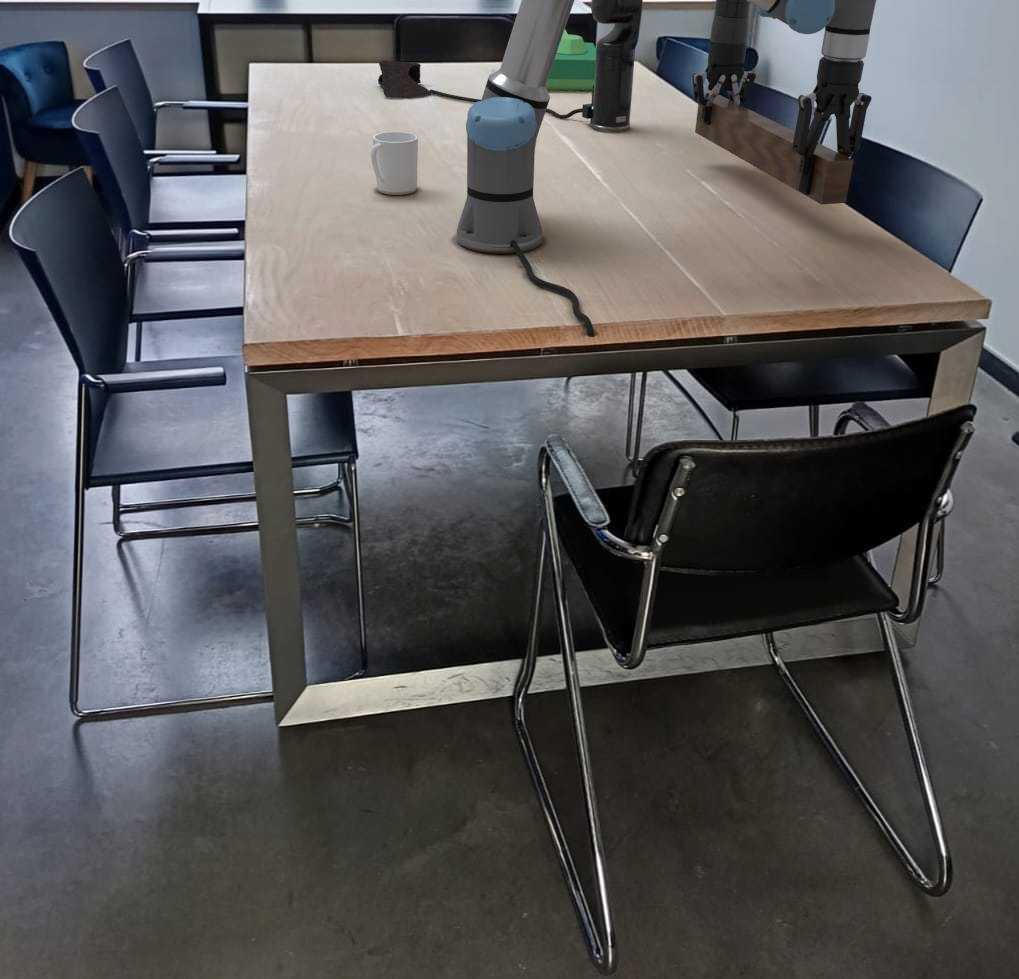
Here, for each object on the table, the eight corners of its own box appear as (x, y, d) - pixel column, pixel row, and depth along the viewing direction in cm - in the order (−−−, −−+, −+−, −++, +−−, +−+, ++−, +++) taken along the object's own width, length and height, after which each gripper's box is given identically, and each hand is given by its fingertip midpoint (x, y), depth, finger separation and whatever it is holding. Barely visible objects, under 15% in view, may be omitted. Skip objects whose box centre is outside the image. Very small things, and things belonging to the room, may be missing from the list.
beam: (845, 203, 197) (853, 160, 193) (821, 204, 196) (829, 161, 192) (715, 131, 241) (720, 95, 237) (694, 132, 239) (699, 95, 235)
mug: (396, 180, 226) (394, 129, 221) (428, 188, 221) (427, 137, 216) (358, 191, 219) (355, 139, 214) (389, 200, 214) (387, 147, 209)
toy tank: (590, 24, 327) (604, 45, 297) (588, 68, 333) (601, 92, 303) (531, 23, 326) (539, 44, 296) (530, 67, 332) (538, 91, 302)
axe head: (443, 87, 294) (392, 77, 287) (436, 115, 299) (385, 106, 292) (421, 62, 307) (371, 52, 300) (414, 89, 311) (365, 80, 304)
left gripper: (875, 52, 194) (850, 183, 206) (785, 54, 189) (764, 188, 202) (900, 61, 188) (872, 195, 200) (807, 63, 183) (784, 200, 196)
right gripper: (751, 34, 230) (740, 118, 239) (689, 36, 226) (680, 121, 235) (768, 41, 224) (756, 126, 233) (705, 43, 220) (695, 129, 229)
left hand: (818, 191), depth 201 cm, fingers closed on beam, 5 cm apart
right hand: (718, 123), depth 234 cm, fingers closed on beam, 5 cm apart
